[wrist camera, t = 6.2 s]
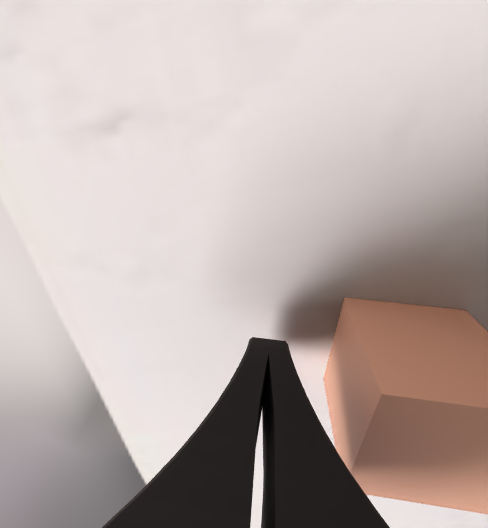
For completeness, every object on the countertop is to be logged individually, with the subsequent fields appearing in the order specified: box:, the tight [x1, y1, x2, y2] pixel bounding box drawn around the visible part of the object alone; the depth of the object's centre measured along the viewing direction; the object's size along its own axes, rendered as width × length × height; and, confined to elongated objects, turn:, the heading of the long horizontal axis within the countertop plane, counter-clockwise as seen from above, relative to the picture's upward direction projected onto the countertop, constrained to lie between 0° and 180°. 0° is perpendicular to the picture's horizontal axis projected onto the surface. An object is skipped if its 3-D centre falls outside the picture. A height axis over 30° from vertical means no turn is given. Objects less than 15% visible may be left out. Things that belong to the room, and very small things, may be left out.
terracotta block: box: [324, 297, 488, 514], centre depth 9 cm, size 4×4×4 cm
